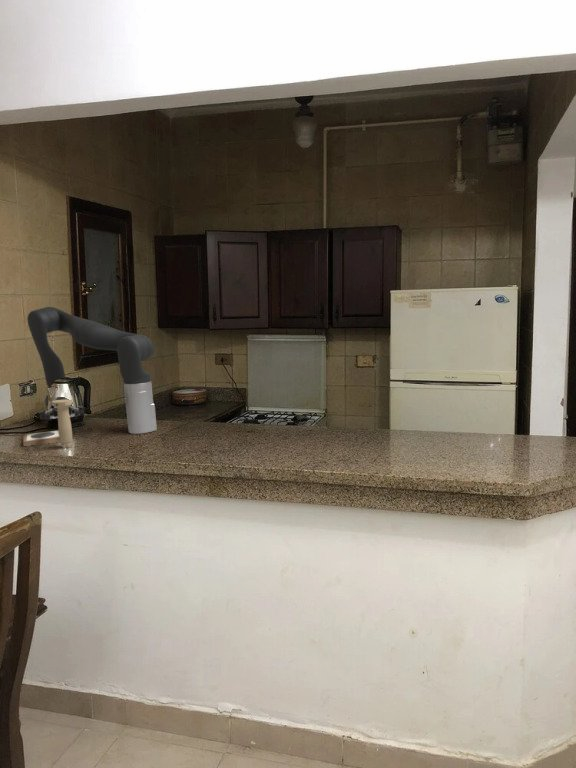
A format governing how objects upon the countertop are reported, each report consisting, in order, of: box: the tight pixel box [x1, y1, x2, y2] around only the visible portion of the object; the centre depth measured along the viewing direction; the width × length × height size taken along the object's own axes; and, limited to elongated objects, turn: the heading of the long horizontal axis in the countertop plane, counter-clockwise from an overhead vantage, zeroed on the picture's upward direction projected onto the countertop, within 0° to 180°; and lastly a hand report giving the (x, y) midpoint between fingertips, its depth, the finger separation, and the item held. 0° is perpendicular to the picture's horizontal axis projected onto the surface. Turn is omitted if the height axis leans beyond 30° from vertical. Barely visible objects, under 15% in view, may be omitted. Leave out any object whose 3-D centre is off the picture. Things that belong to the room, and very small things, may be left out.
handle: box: [52, 400, 73, 449], centre depth 189 cm, size 5×6×15 cm
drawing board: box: [22, 429, 61, 447], centre depth 201 cm, size 12×12×2 cm
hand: (62, 415), depth 199 cm, fingers open, 8 cm apart
